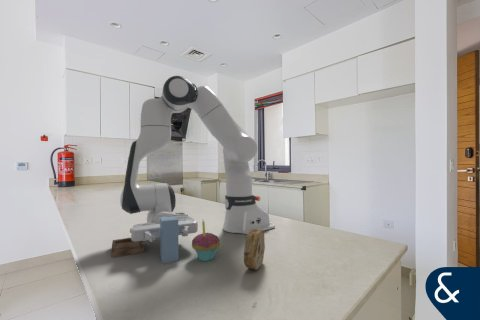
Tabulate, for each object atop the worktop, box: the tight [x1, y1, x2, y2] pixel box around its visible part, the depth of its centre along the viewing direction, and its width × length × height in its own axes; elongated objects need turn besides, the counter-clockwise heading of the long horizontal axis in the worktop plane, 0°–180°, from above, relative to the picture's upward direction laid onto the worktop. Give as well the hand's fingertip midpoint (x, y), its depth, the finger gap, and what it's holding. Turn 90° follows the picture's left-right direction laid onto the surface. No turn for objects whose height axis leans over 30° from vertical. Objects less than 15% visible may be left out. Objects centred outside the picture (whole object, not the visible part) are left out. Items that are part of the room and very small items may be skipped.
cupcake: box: [191, 220, 221, 262], centre depth 70 cm, size 9×8×12 cm
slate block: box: [159, 216, 180, 264], centre depth 70 cm, size 4×4×12 cm
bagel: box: [243, 229, 266, 271], centre depth 64 cm, size 10×4×10 cm, turn 157°
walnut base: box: [110, 237, 144, 258], centre depth 77 cm, size 9×9×2 cm
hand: (169, 236), depth 69 cm, fingers open, 8 cm apart
